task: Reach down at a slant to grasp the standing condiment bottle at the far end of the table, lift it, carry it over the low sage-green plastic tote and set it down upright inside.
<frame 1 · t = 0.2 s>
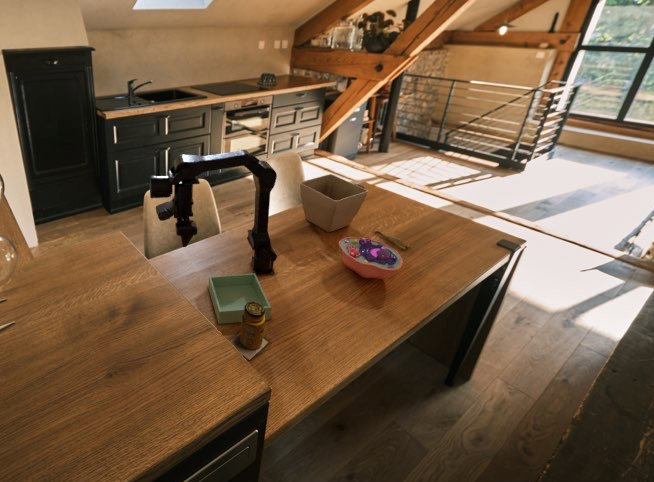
hand: (182, 238, 124), 15 cm above the table, tool pointing down, fingers open, 9 cm apart
flower pot: (326, 222, 161), on the table
condiment: (248, 343, 104), on the table
tote: (237, 302, 118), on the table
cell model: (364, 271, 132), on the table
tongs: (389, 241, 149), on the table
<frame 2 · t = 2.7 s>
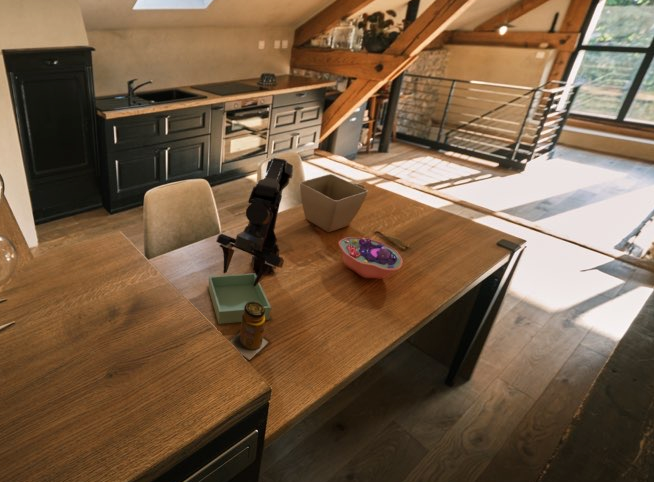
hand: (239, 279, 107), 14 cm above the table, tool tilted 35°, fingers open, 9 cm apart
nothing on the table moved.
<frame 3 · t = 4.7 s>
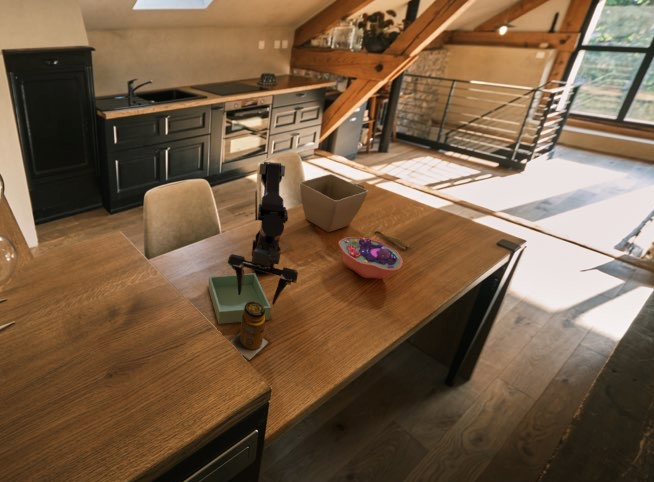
hand: (255, 299, 103), 11 cm above the table, tool tilted 45°, fingers open, 9 cm apart
nothing on the table moved.
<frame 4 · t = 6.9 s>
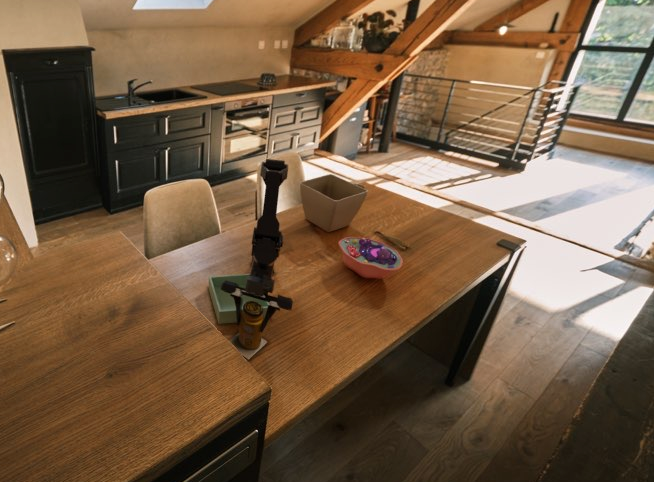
hand: (249, 328, 100), 7 cm above the table, tool tilted 45°, fingers closed on condiment, 6 cm apart
condiment: (247, 343, 104), on the table, touching gripper
everything else where it was.
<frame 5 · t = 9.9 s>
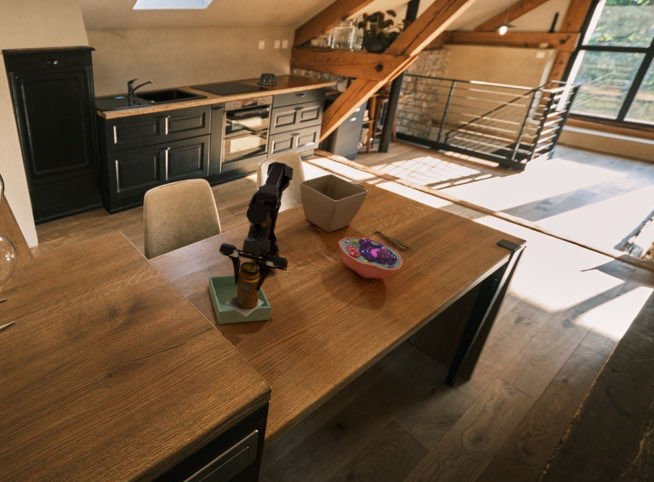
hand: (246, 287, 105), 13 cm above the table, tool tilted 45°, fingers closed on condiment, 6 cm apart
condiment: (244, 303, 108), point 6 cm above the table, touching gripper
everything else where it was.
when the fingers open (8 cm above the table, at t = 13.1 s): condiment stays where it is, resting on tote.
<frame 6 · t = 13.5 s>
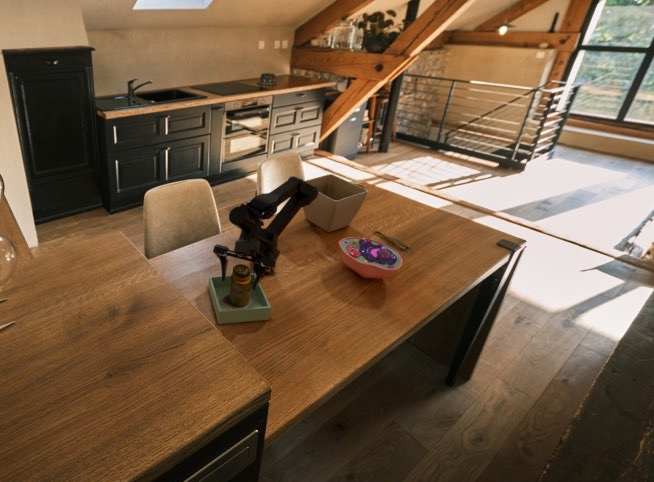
hand: (238, 285, 113), 8 cm above the table, tool tilted 45°, fingers open, 9 cm apart
condiment: (236, 302, 117), resting on tote
everything else where it was.
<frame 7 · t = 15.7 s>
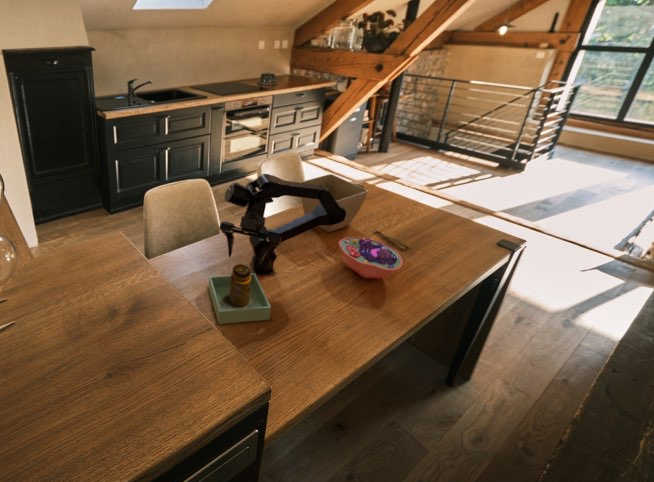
hand: (244, 260, 116), 13 cm above the table, tool tilted 45°, fingers open, 9 cm apart
nothing on the table moved.
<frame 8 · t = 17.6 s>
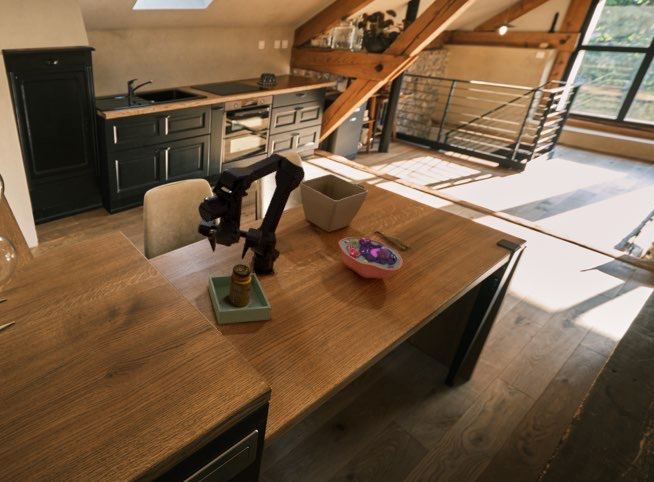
hand: (228, 254, 119), 13 cm above the table, tool pointing down, fingers open, 9 cm apart
nothing on the table moved.
at the end: condiment inside the target area in the tote (0.3 cm from its centre), point 0.4 cm above the tote's base; condiment tilted 0°; the gripper is holding nothing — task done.
